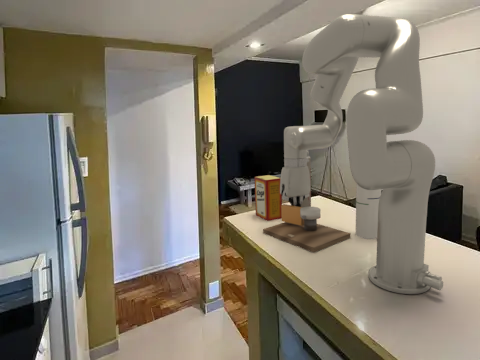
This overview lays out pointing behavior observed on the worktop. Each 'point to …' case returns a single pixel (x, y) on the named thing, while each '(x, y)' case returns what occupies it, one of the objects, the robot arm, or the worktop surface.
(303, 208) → the cap
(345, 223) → the worktop surface
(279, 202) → the baking soda box
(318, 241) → the post base
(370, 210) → the cylindrical container
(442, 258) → the worktop surface
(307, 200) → the thermos bottle
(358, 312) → the worktop surface
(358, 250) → the worktop surface
